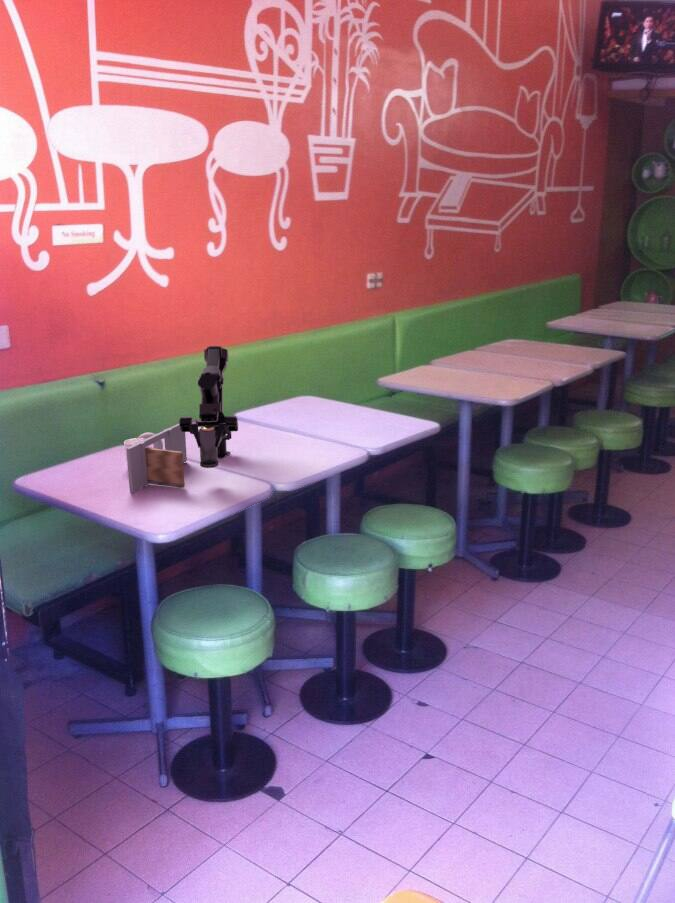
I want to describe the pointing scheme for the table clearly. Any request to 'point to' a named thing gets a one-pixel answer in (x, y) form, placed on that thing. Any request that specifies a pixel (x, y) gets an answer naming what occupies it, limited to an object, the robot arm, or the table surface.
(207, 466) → the dark metallic tumbler
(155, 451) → the door
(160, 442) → the donut
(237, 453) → the table surface
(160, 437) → the wall frame
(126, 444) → the white cup
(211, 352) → the robot arm
